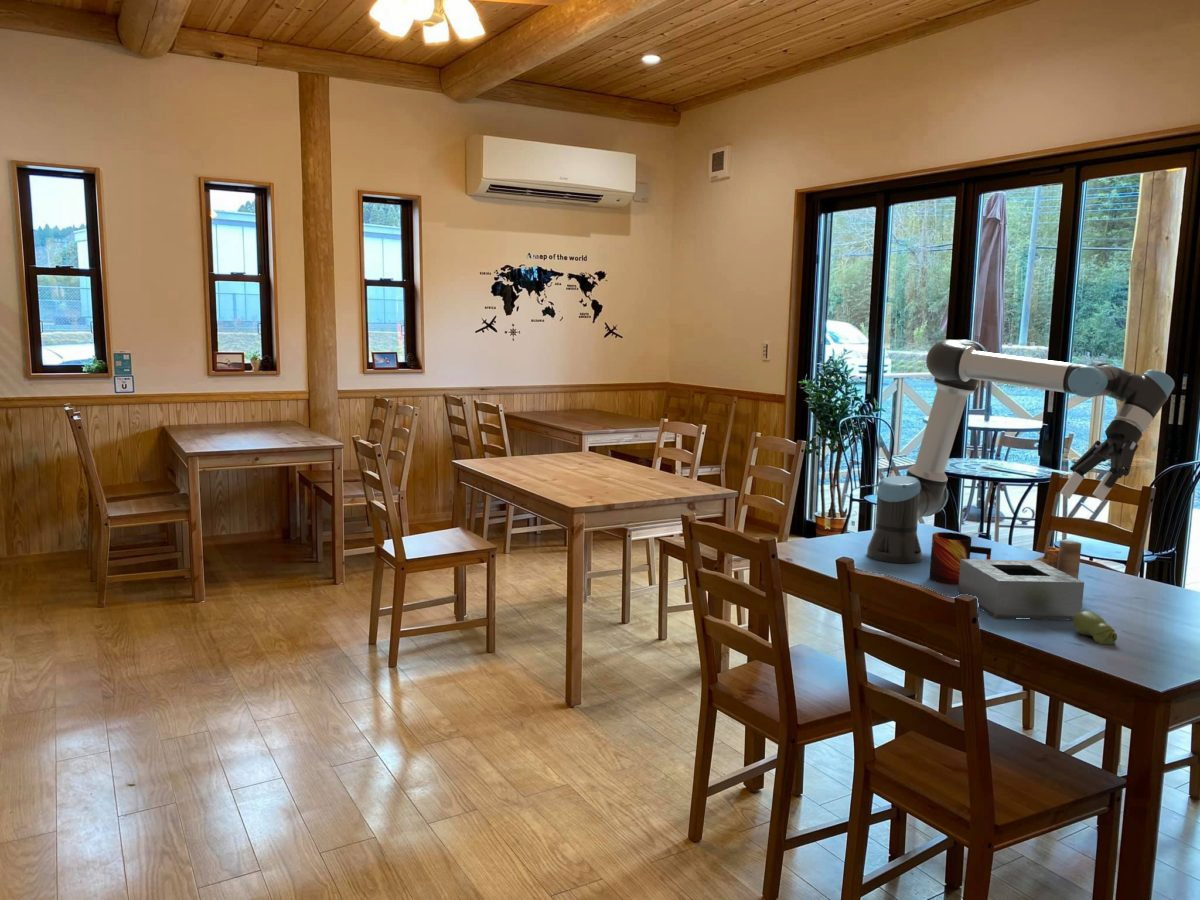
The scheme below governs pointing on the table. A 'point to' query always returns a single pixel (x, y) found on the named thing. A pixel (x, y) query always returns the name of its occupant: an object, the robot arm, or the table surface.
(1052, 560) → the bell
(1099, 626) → the pear
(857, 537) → the table surface
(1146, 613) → the table surface
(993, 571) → the box
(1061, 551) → the peg
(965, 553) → the mug
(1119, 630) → the table surface
